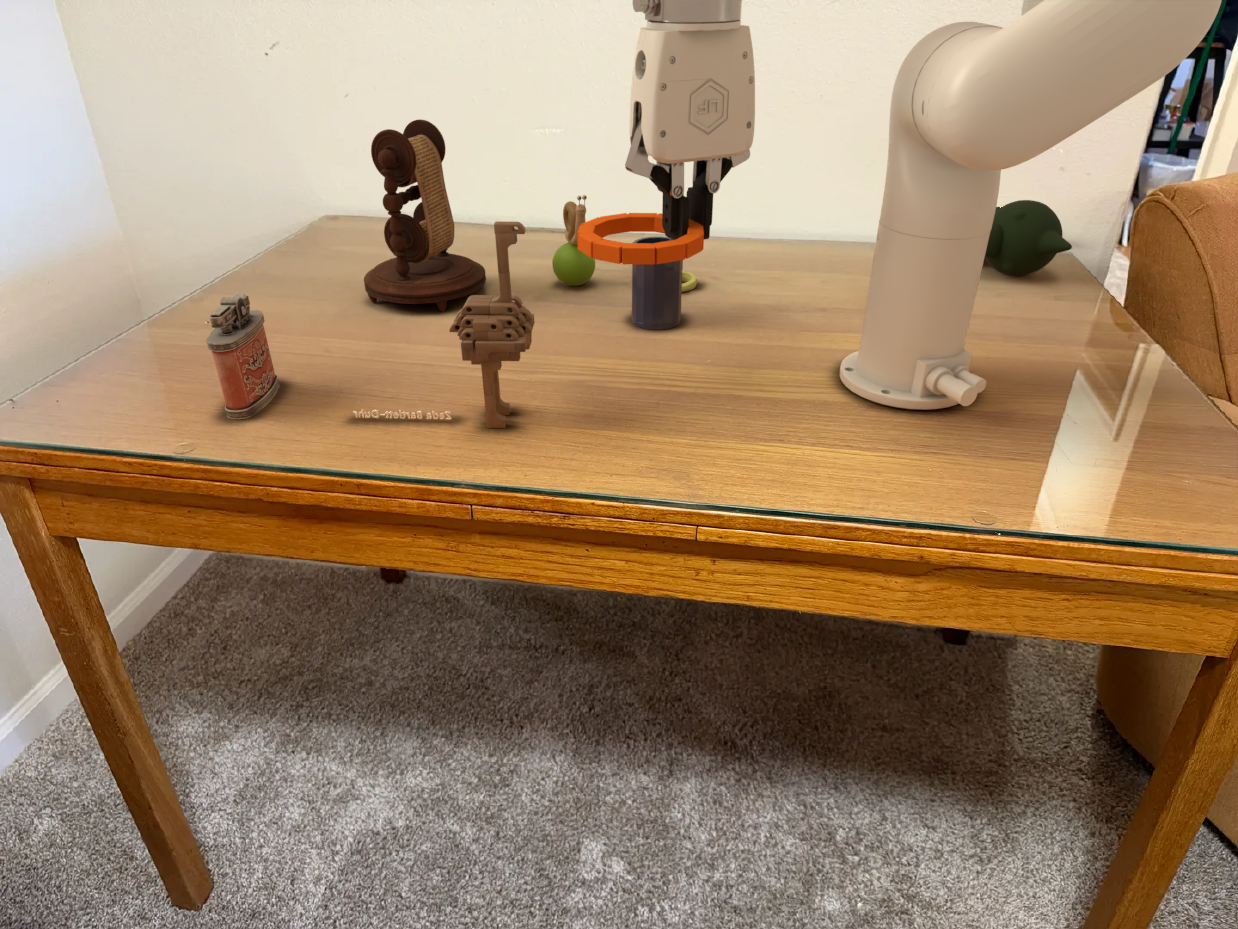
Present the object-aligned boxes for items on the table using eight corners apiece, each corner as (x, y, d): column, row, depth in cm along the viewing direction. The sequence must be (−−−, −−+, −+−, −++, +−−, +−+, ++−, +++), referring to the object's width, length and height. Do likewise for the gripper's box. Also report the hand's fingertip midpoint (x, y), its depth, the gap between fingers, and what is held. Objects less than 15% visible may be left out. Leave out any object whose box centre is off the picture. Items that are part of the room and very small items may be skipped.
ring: (727, 252, 73) (727, 236, 72) (612, 272, 69) (612, 255, 68) (664, 221, 81) (664, 207, 81) (559, 237, 77) (558, 222, 76)
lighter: (253, 381, 85) (229, 284, 79) (287, 381, 84) (264, 284, 79) (218, 419, 78) (189, 316, 72) (254, 419, 78) (228, 316, 72)
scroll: (451, 321, 98) (431, 139, 87) (342, 307, 102) (310, 131, 92) (506, 281, 110) (494, 116, 99) (406, 269, 114) (384, 110, 103)
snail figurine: (564, 296, 105) (561, 198, 99) (547, 281, 110) (542, 186, 104) (605, 290, 107) (603, 193, 100) (586, 275, 112) (584, 182, 106)
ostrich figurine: (542, 403, 80) (531, 211, 71) (534, 438, 74) (521, 234, 65) (365, 401, 81) (332, 210, 71) (344, 435, 75) (304, 233, 66)
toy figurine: (918, 188, 122) (1014, 207, 100) (1040, 187, 125) (1161, 206, 102) (909, 254, 126) (999, 287, 103) (1028, 252, 128) (1142, 284, 106)
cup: (688, 325, 97) (692, 247, 92) (644, 333, 95) (645, 254, 90) (666, 309, 101) (668, 234, 96) (624, 316, 99) (624, 240, 95)
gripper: (627, 13, 61) (628, 261, 71) (803, 5, 67) (782, 236, 77) (584, 8, 67) (591, 238, 77) (750, 2, 73) (736, 216, 83)
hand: (686, 236), depth 77 cm, fingers closed on ring, 1 cm apart
